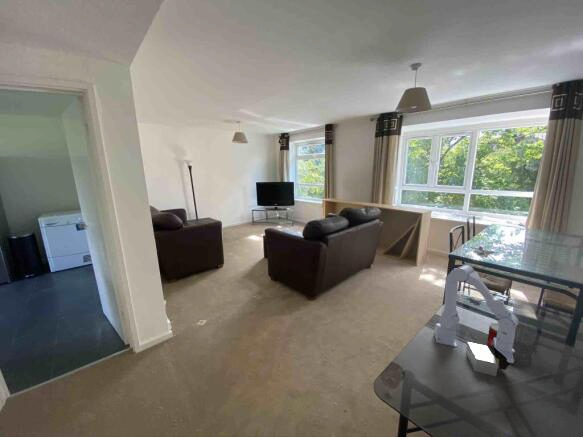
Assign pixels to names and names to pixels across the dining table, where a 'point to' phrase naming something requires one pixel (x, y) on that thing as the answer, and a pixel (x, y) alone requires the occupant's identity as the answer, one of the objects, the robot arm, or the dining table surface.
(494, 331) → the canned food
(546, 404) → the dining table surface
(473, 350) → the housing
